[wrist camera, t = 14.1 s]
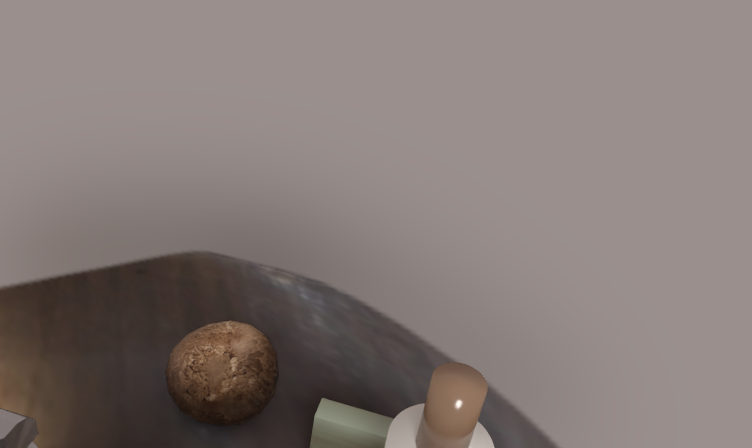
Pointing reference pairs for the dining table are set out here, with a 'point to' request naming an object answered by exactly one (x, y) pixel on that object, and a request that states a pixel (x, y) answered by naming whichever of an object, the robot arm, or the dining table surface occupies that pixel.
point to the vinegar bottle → (444, 413)
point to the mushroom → (222, 373)
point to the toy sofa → (348, 427)
